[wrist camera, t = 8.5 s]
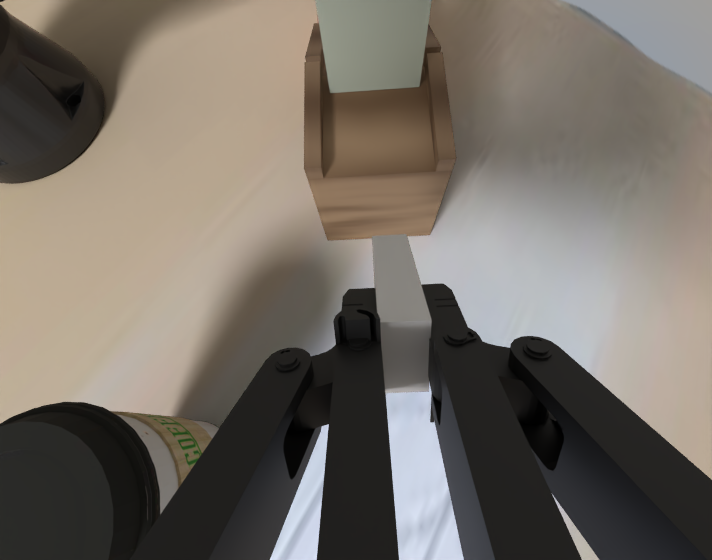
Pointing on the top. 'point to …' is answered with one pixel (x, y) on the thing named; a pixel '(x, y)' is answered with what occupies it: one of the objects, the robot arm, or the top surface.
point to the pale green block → (373, 43)
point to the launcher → (377, 150)
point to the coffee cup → (89, 479)
